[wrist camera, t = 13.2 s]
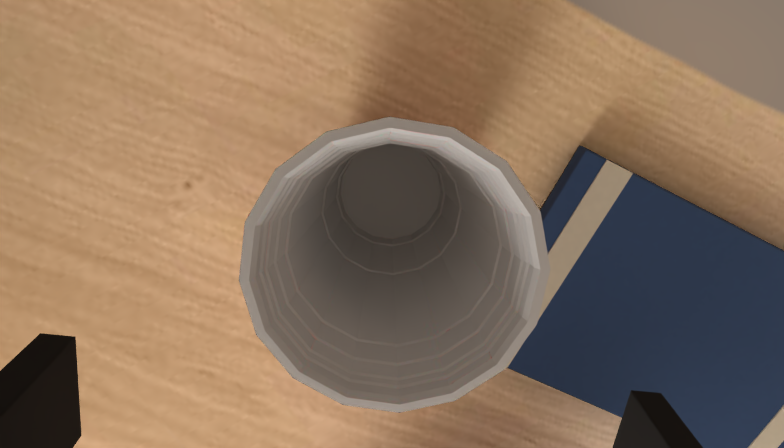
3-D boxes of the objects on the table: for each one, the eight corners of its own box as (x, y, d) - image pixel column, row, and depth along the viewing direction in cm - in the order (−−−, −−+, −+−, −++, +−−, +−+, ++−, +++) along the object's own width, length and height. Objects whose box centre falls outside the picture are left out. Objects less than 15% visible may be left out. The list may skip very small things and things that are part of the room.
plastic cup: (493, 80, 29) (564, 114, 18) (488, 275, 33) (545, 407, 21) (280, 87, 29) (214, 126, 18) (298, 281, 33) (253, 418, 21)
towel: (461, 338, 34) (464, 350, 33) (579, 144, 30) (587, 149, 29) (755, 467, 37) (768, 482, 36) (893, 307, 34) (913, 318, 32)
